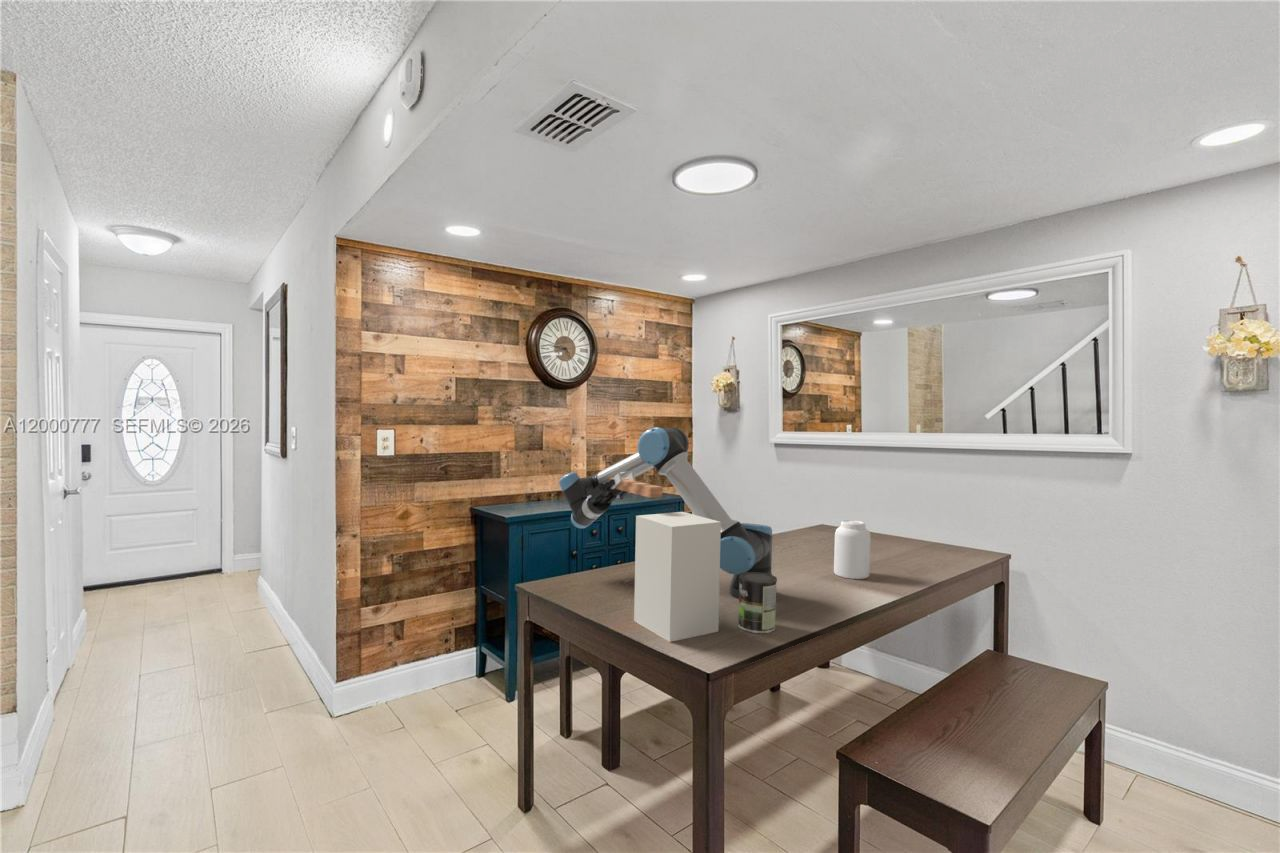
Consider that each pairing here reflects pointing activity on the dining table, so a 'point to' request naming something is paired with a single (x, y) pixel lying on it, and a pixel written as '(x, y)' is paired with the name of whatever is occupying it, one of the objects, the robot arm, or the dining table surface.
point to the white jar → (852, 550)
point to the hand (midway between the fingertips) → (626, 476)
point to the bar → (639, 488)
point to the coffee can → (757, 602)
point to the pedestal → (677, 574)
